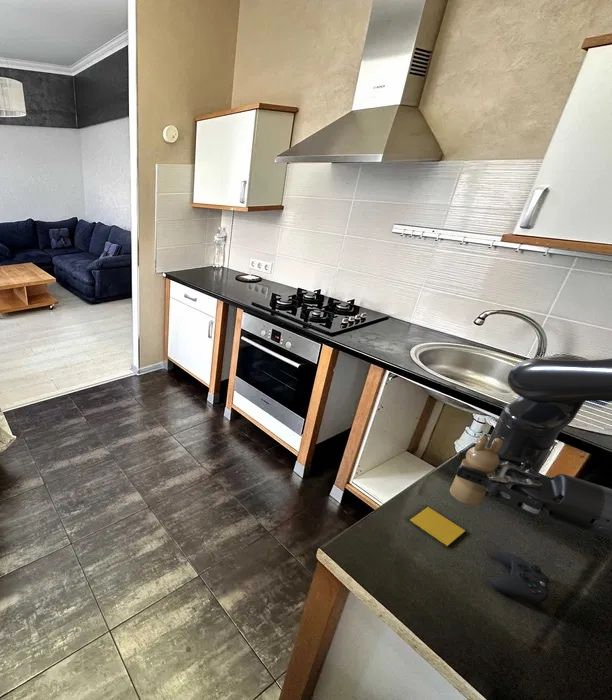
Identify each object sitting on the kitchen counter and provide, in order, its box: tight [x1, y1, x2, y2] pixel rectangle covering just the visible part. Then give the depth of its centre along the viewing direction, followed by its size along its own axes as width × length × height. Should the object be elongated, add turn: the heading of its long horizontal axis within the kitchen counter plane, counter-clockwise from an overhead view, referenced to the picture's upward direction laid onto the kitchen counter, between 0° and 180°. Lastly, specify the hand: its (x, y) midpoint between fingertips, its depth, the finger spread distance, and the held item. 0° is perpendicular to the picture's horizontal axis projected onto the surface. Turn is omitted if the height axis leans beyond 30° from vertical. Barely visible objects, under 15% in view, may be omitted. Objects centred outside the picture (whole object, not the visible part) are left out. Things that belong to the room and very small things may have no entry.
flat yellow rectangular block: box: [409, 506, 466, 547], centre depth 77 cm, size 7×7×1 cm
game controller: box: [490, 551, 550, 608], centre depth 65 cm, size 10×5×6 cm
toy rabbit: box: [449, 434, 503, 507], centre depth 67 cm, size 5×5×13 cm
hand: (458, 462), depth 69 cm, fingers closed on toy rabbit, 4 cm apart
